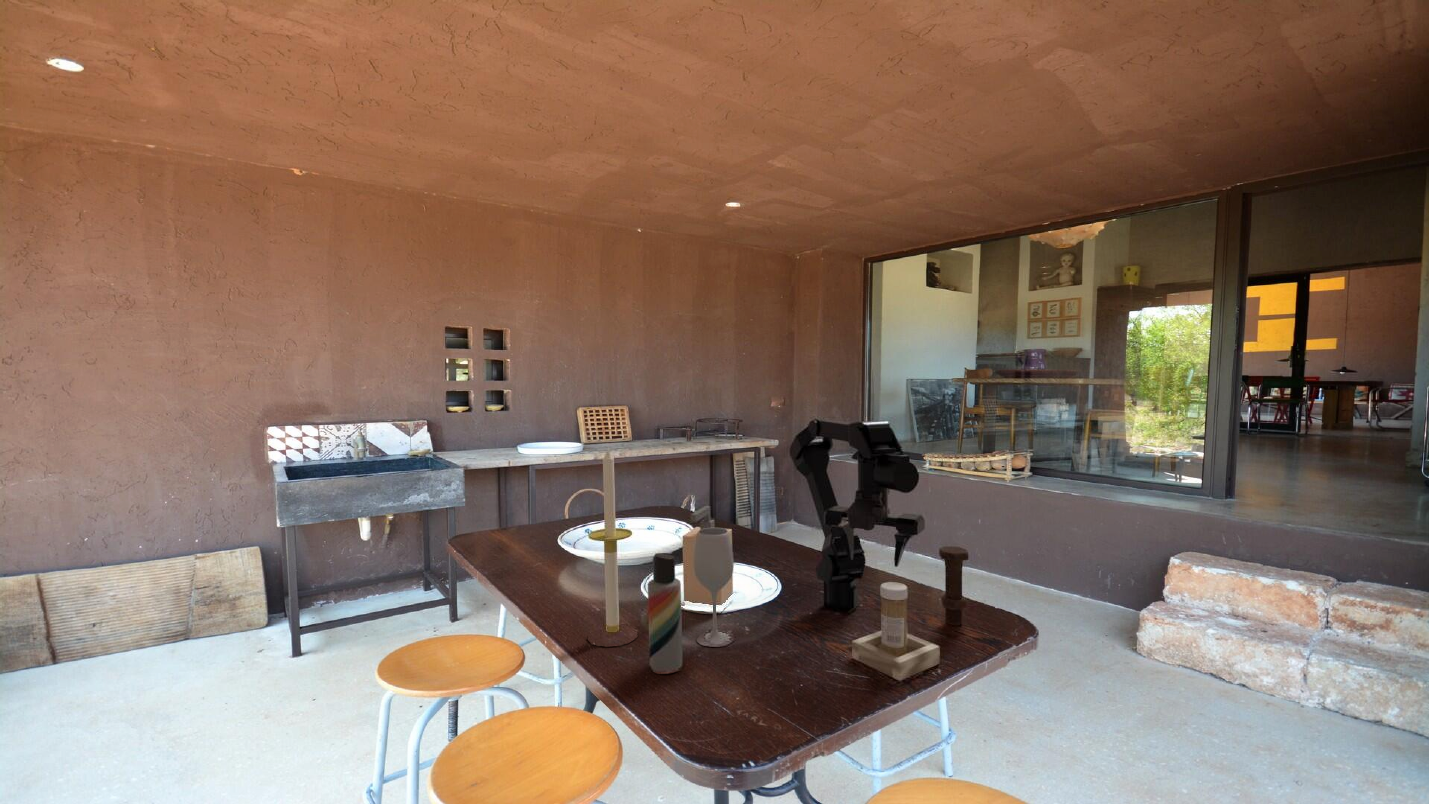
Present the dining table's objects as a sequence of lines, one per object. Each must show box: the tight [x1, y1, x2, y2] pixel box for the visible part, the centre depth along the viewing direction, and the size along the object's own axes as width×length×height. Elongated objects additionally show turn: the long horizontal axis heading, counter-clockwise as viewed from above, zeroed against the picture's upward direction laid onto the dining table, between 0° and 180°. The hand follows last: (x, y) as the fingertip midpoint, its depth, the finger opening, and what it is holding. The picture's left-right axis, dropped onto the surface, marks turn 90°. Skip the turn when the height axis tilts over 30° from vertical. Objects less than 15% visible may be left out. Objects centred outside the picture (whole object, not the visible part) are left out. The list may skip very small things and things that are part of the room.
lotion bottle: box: [647, 552, 683, 671], centre depth 108 cm, size 6×6×20 cm
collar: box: [851, 630, 941, 682], centre depth 110 cm, size 10×10×3 cm
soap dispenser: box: [682, 505, 734, 605], centre depth 136 cm, size 13×9×22 cm
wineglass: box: [694, 527, 735, 644], centre depth 119 cm, size 8×8×21 cm
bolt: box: [938, 545, 969, 626], centre depth 125 cm, size 6×5×15 cm
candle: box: [587, 448, 633, 632], centre depth 121 cm, size 10×10×38 cm
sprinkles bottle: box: [879, 581, 908, 657], centre depth 109 cm, size 5×5×14 cm
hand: (873, 562), depth 124 cm, fingers open, 9 cm apart
